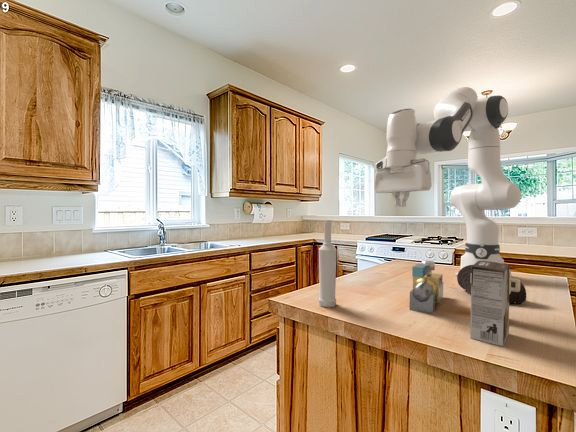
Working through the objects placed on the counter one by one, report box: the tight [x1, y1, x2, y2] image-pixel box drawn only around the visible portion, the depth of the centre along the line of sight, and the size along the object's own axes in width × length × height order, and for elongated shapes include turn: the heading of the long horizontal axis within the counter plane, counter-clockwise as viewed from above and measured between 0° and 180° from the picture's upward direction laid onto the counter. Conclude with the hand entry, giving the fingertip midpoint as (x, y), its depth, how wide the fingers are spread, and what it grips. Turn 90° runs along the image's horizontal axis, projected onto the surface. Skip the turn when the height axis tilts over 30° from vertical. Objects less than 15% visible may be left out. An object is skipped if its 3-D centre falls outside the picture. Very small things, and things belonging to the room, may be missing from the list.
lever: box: [411, 259, 436, 278], centre depth 88 cm, size 14×4×3 cm, turn 143°
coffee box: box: [469, 261, 511, 347], centre depth 68 cm, size 9×6×16 cm
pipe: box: [456, 265, 527, 304], centre depth 98 cm, size 10×15×15 cm
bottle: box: [318, 219, 337, 308], centre depth 90 cm, size 5×5×25 cm
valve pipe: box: [409, 270, 444, 315], centre depth 92 cm, size 20×7×10 cm, turn 146°
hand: (400, 206), depth 95 cm, fingers closed
